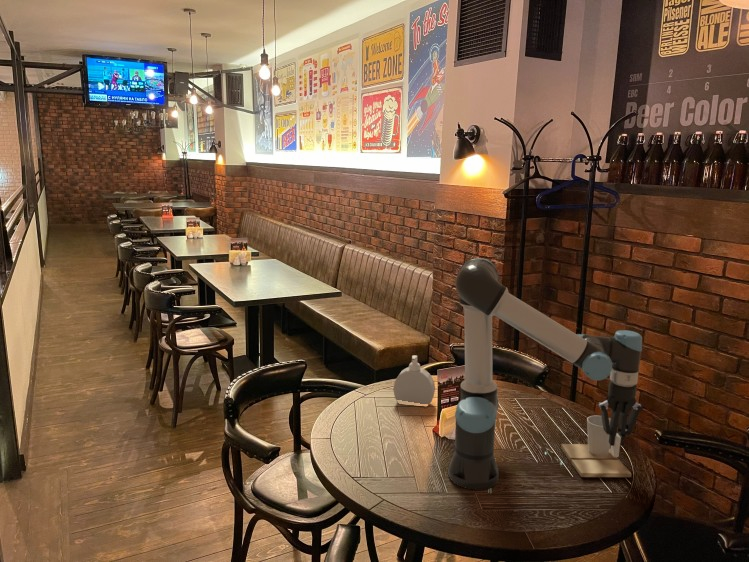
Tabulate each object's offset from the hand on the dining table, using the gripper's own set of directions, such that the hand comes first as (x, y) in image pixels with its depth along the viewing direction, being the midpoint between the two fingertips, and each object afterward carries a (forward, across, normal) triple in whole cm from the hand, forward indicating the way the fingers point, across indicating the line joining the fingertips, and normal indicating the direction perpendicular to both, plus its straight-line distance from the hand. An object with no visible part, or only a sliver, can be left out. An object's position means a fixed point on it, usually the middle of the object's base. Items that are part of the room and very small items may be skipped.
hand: (614, 454), depth 171 cm
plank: (+6, -3, +1) cm, 7 cm away
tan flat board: (+6, -3, +11) cm, 13 cm away
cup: (+6, 0, +11) cm, 12 cm away
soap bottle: (+8, -58, +50) cm, 77 cm away
